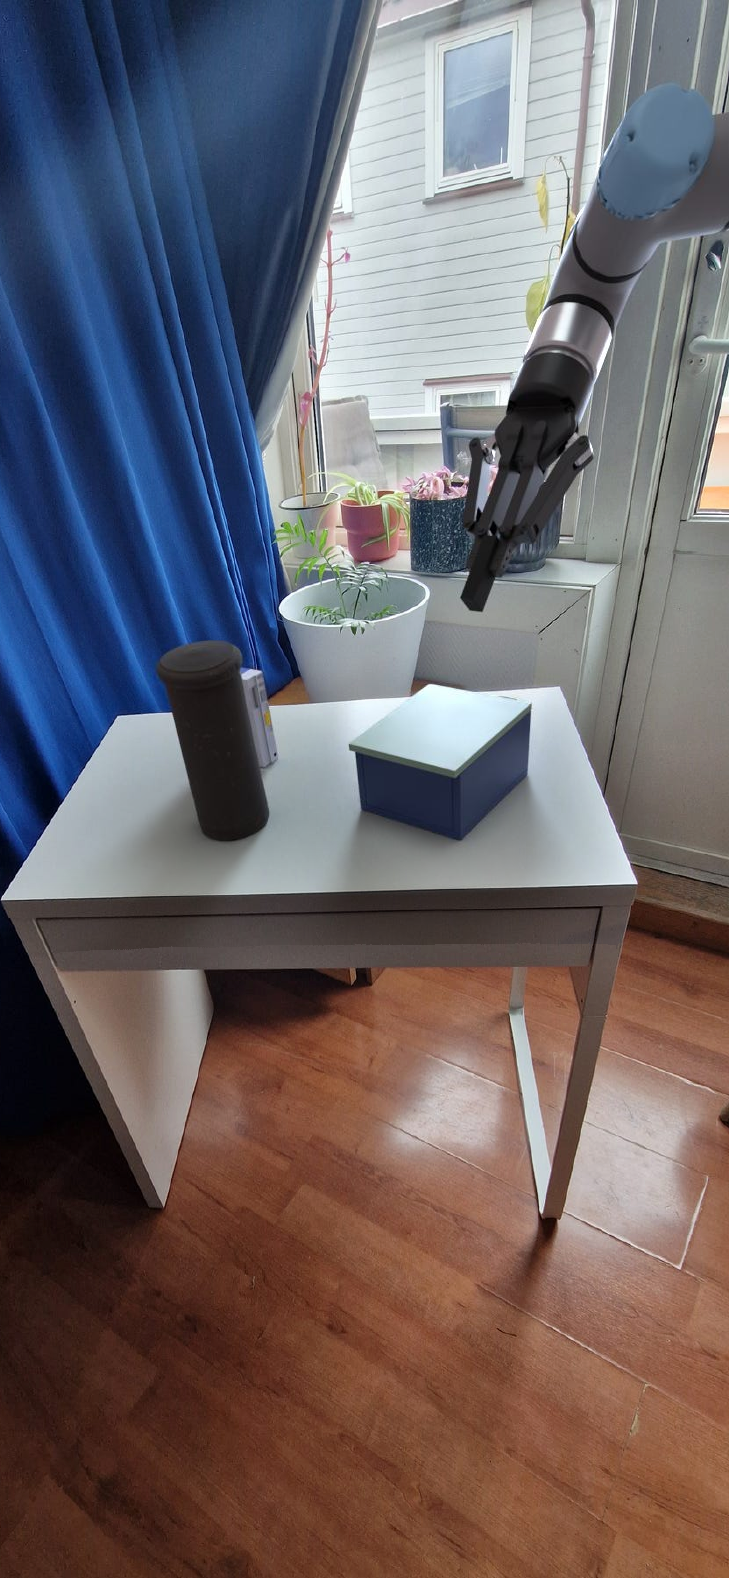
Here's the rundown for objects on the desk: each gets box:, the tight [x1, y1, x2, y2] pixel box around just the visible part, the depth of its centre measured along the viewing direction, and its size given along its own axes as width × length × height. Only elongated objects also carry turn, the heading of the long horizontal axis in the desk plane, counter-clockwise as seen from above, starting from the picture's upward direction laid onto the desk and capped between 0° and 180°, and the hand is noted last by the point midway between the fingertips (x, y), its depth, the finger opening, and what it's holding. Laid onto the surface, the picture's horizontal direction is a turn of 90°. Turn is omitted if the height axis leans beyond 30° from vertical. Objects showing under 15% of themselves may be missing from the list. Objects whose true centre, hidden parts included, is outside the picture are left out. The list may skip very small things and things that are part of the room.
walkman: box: [240, 666, 279, 768], centre depth 94 cm, size 8×3×12 cm, turn 52°
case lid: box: [348, 683, 533, 778], centre depth 80 cm, size 16×13×1 cm
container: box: [156, 639, 270, 841], centre depth 80 cm, size 9×9×20 cm
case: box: [354, 709, 532, 841], centre depth 83 cm, size 15×13×8 cm
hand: (471, 604), depth 76 cm, fingers closed
